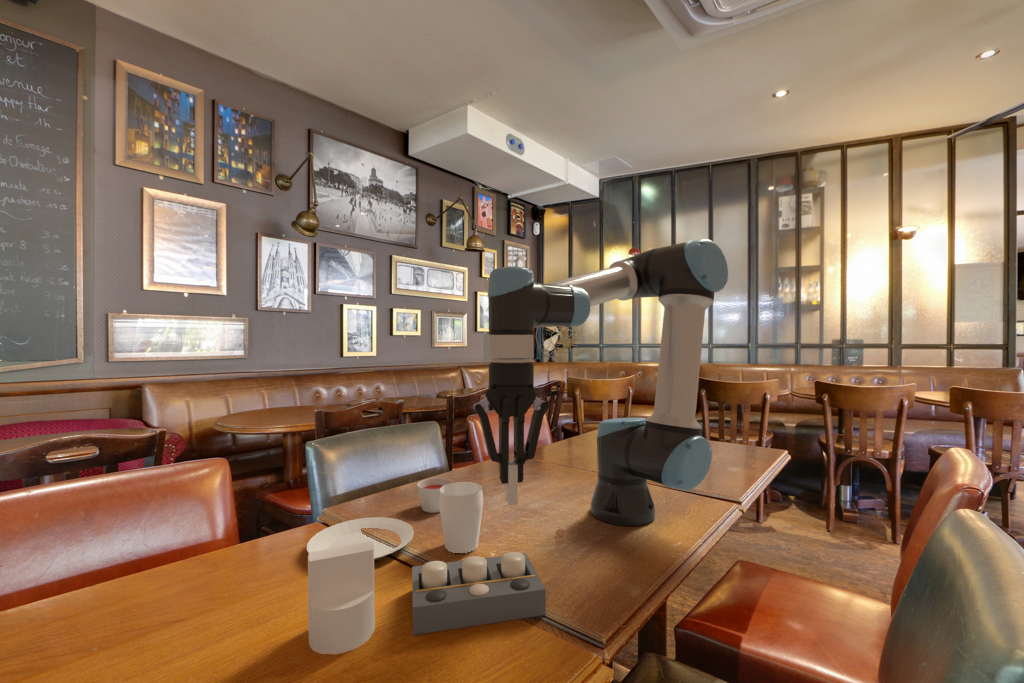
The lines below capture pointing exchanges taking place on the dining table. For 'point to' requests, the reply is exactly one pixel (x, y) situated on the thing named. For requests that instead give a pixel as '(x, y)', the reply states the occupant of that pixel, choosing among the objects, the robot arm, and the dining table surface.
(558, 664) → the dining table surface
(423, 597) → the board
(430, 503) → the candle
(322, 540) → the plate
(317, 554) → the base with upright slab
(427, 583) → the button
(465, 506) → the cup
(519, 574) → the button
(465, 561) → the button
